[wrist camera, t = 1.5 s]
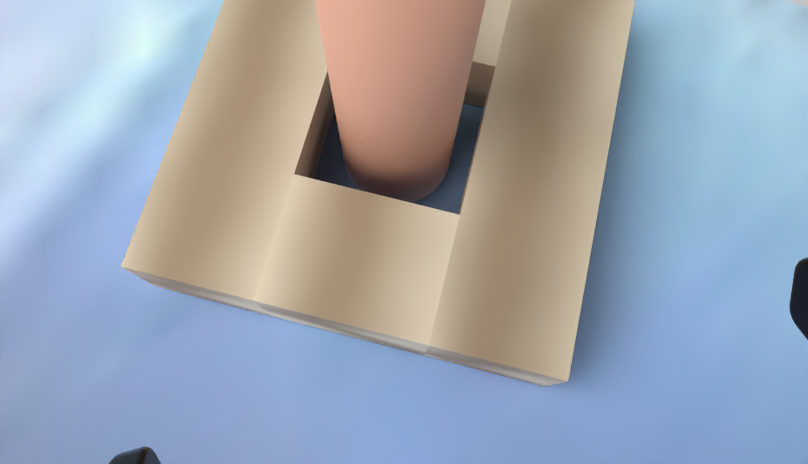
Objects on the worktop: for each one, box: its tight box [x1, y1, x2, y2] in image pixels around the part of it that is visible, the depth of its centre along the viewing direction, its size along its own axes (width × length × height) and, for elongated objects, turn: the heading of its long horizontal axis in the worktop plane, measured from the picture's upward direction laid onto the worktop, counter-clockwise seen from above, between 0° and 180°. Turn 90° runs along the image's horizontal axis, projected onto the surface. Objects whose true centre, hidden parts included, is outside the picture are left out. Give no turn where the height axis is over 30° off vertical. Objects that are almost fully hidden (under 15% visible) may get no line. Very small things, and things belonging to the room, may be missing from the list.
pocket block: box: [121, 0, 635, 386], centre depth 23 cm, size 14×14×3 cm
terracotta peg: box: [315, 0, 486, 203], centre depth 18 cm, size 4×4×12 cm
